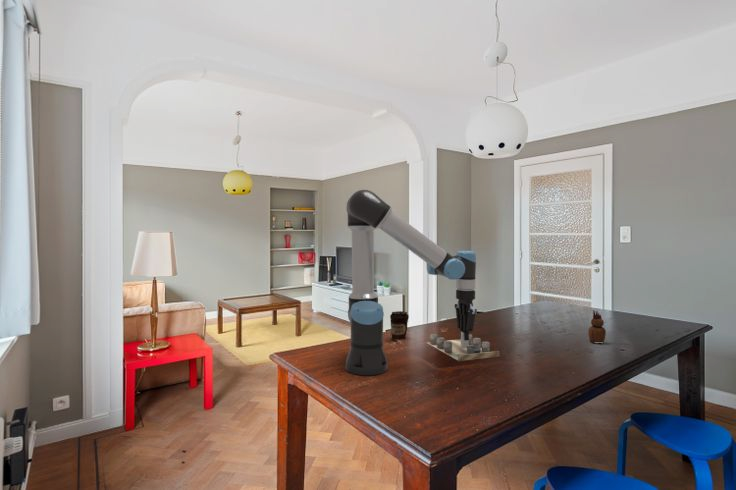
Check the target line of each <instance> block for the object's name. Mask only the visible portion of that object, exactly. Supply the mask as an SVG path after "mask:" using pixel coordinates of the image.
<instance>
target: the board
mask: <svg viewBox="0 0 736 490" xmlns="http://www.w3.org/2000/svg"><path fill="white" fill-rule="evenodd" d="M429 338H430V339H429V340H430V341H427V342H426V344H428V345H430V346H431V347H434V348H435V349H437V350H438V351H440V352H442V353H443V354H446V355H447V356H449V357H451V358H453V359H454V360H456V361H458V362H465V361H474V360H481V359H489V358H491V359H492V358H498V357H500V351H499V350H493V351H490V342H489V341H481V338H479V337H473V334H471V333H469V346H478V347H480V349H481V353H474V354H467V348H461V338H460V339H449V340H445V337H441V336H440V337H438V334H436V333H430V337H429Z"/></svg>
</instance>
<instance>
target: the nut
mask: <svg viewBox="0 0 736 490" xmlns="http://www.w3.org/2000/svg"><path fill="white" fill-rule="evenodd" d="M474 353H481V349H480V347H478V346H467V354H474Z"/></svg>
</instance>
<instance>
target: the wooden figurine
mask: <svg viewBox="0 0 736 490" xmlns="http://www.w3.org/2000/svg"><path fill="white" fill-rule="evenodd" d="M604 323H605V322H604V320H603V319H602V315H601V314H600V313H599V312H598V311H597V310H596V311H595V309H593V312H592V319H591V321H590V327H589V328H588V329H587V330H588V333H587V334H588V338H589V341H590V342H591V341H592V342H603V343H604V342H605V340H606V336H607V335H606V334H607V330H606V329H605V327H603V326H604ZM592 342H591V343H592Z"/></svg>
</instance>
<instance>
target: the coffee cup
mask: <svg viewBox="0 0 736 490" xmlns="http://www.w3.org/2000/svg"><path fill="white" fill-rule="evenodd" d="M389 316H390V317H389V318H390V331H391V334H390V335H391V341H392V342H395V343H399V341H398V340H403V339H406V338H407V331H408V320H409V314H408V312H407V311H404V310H403V311H401V310H399V311H392V312H391V314H390V315H389Z"/></svg>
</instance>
